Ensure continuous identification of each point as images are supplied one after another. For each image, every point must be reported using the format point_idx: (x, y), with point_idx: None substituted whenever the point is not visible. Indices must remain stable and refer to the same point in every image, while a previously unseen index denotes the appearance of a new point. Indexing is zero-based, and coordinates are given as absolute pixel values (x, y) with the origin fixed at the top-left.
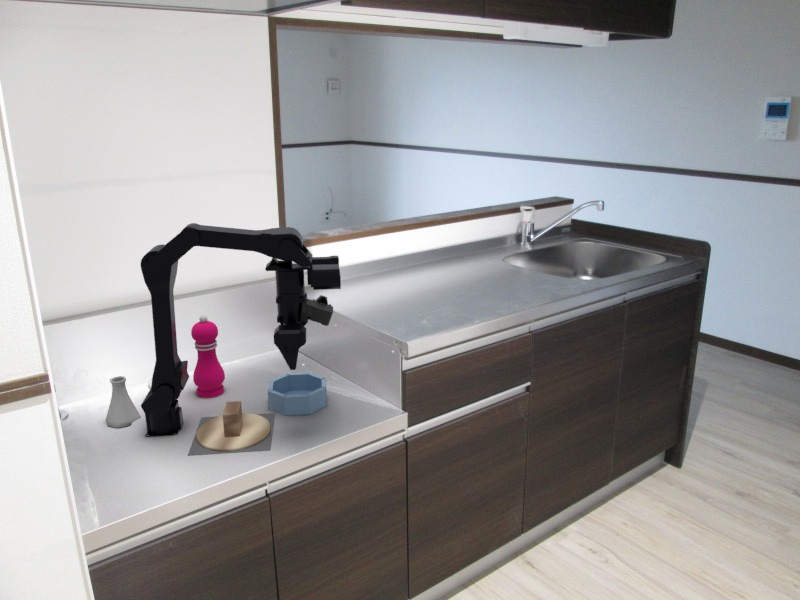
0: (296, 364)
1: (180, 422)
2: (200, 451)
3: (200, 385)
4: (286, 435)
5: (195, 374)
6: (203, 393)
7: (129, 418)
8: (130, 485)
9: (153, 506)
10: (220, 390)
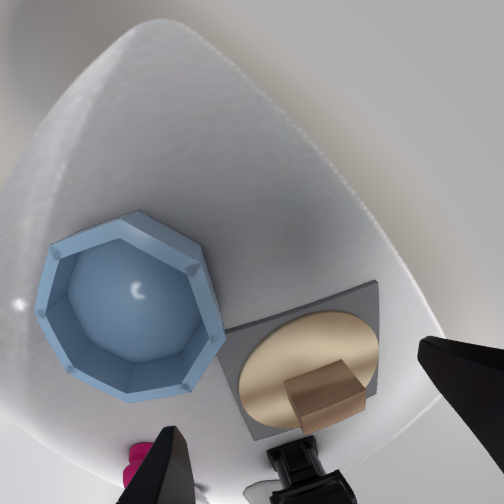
0: (455, 341)
1: (303, 450)
2: (368, 386)
3: None
4: (308, 273)
5: None
6: None
7: (279, 487)
8: (413, 401)
9: None
10: None
